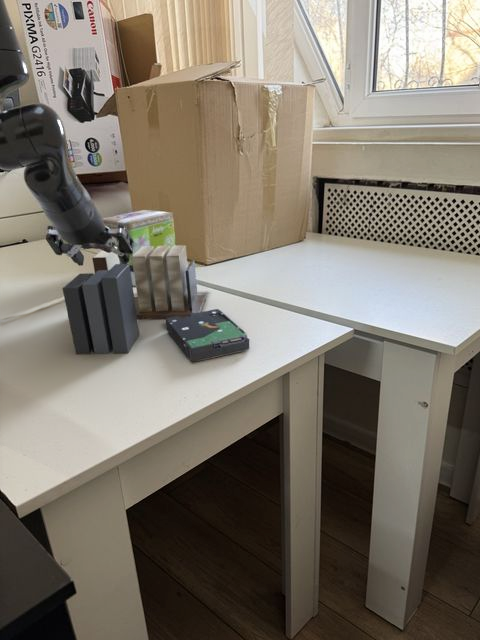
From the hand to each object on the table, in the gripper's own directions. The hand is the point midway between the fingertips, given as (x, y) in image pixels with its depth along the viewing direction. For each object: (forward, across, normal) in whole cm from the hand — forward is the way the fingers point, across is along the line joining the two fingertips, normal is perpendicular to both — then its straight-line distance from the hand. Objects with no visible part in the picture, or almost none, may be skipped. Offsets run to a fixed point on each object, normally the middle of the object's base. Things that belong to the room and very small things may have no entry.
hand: (103, 261), depth 98 cm
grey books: (-4, -4, +18) cm, 19 cm away
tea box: (+25, -1, -10) cm, 27 cm away
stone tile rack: (+8, -7, +7) cm, 13 cm away
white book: (+7, 0, +6) cm, 10 cm away
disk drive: (-3, -21, +18) cm, 28 cm away
